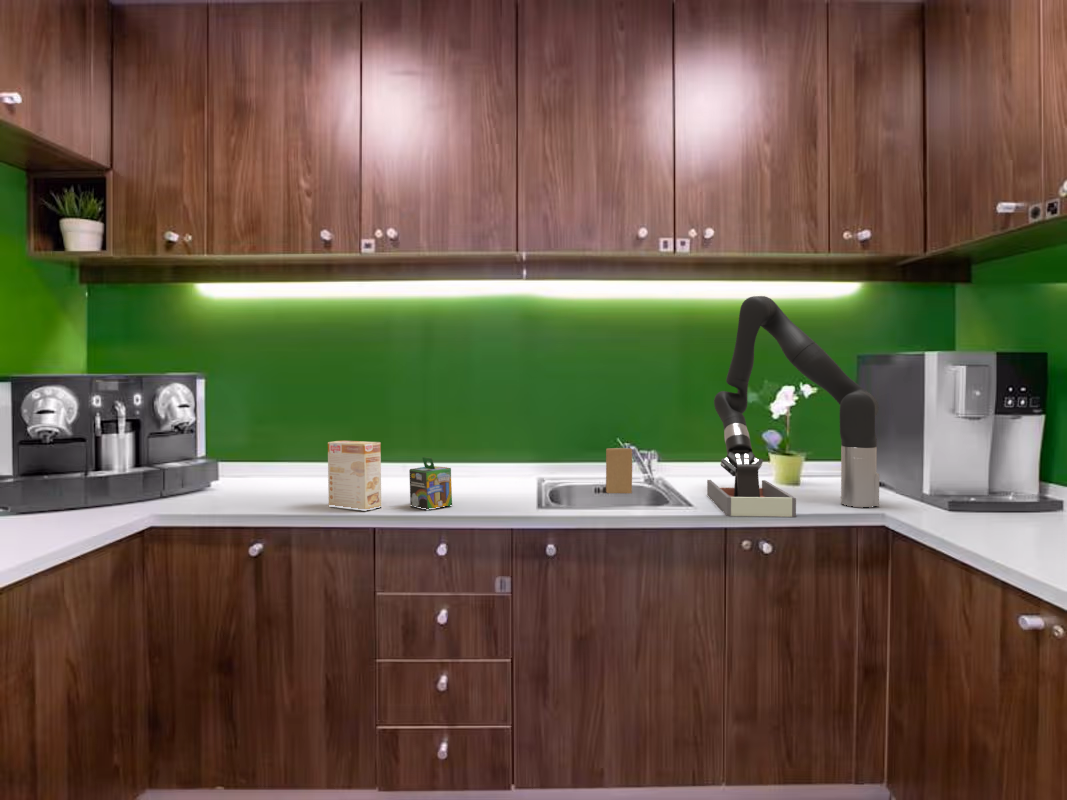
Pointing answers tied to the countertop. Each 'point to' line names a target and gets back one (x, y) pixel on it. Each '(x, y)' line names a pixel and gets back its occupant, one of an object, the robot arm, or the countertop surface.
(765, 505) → the open storage tray
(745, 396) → the robot arm
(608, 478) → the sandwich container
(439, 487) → the chalk box
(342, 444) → the coffeecake box
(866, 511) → the countertop surface
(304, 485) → the countertop surface
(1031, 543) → the countertop surface
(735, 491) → the door stopper
